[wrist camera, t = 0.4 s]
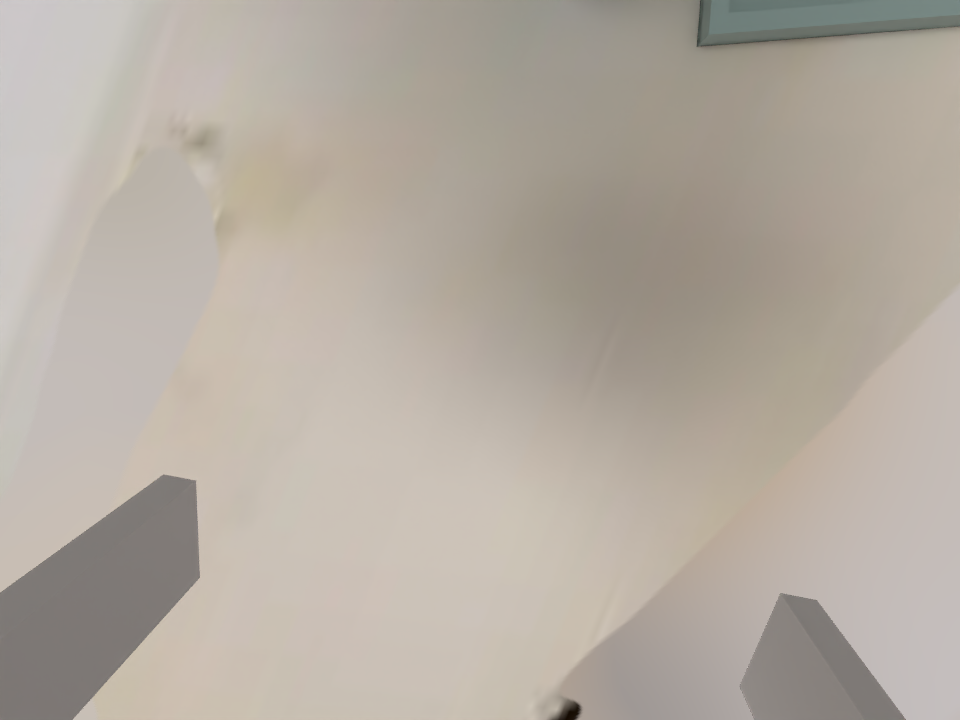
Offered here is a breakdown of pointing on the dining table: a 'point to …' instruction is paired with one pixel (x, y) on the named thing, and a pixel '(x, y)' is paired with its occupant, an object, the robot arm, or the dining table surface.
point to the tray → (817, 18)
